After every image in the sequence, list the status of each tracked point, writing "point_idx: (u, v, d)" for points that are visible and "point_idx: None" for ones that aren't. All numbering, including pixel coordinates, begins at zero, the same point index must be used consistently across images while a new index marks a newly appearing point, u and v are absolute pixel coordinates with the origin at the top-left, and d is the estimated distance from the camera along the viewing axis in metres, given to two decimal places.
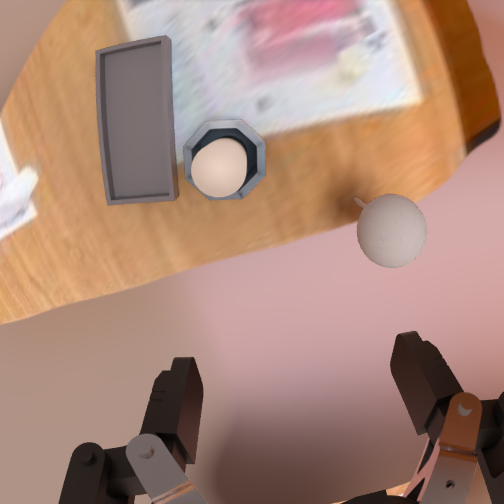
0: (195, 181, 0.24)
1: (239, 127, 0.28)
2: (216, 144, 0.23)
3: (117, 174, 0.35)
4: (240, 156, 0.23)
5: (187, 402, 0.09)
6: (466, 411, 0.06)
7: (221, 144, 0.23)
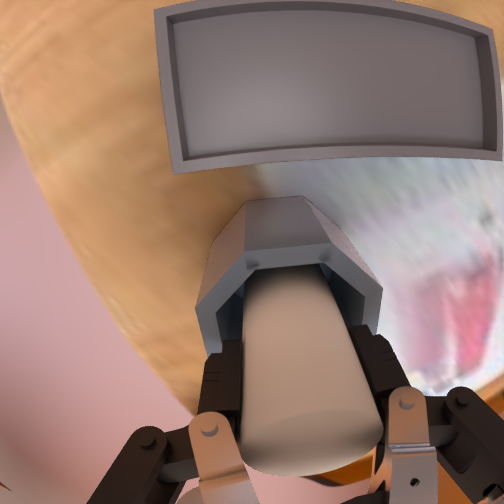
0: (285, 421, 0.07)
1: None
2: (379, 435, 0.08)
3: (229, 26, 0.13)
4: (340, 466, 0.08)
5: (241, 381, 0.10)
6: (406, 405, 0.07)
7: (376, 441, 0.08)
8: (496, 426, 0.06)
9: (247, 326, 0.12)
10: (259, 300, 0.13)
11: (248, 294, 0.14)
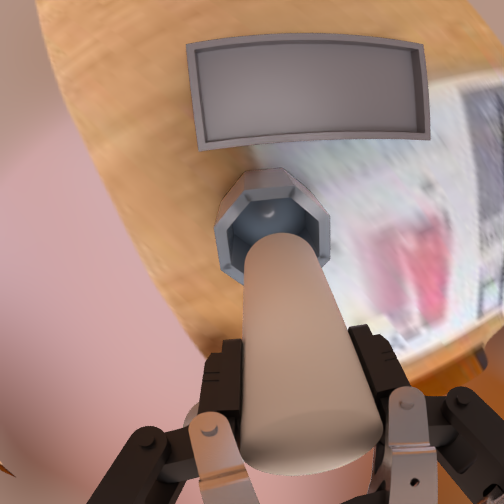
0: (285, 420, 0.07)
1: (319, 259, 0.22)
2: (379, 435, 0.08)
3: (234, 56, 0.21)
4: (340, 465, 0.08)
5: (241, 381, 0.10)
6: (406, 405, 0.07)
7: (376, 441, 0.08)
8: (496, 426, 0.06)
9: (247, 326, 0.12)
10: (259, 299, 0.13)
11: (248, 294, 0.14)
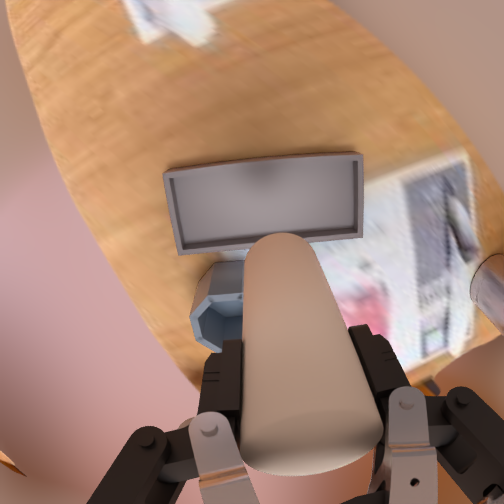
0: (285, 420, 0.07)
1: None
2: (379, 435, 0.08)
3: (201, 178, 0.31)
4: (340, 465, 0.08)
5: (241, 381, 0.10)
6: (406, 405, 0.07)
7: (376, 441, 0.08)
8: (495, 426, 0.06)
9: (247, 326, 0.12)
10: (259, 299, 0.13)
11: (248, 294, 0.14)
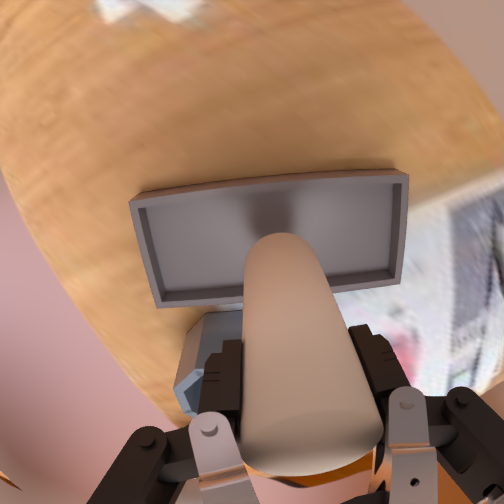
0: (285, 420, 0.07)
1: None
2: (379, 435, 0.08)
3: (183, 206, 0.22)
4: (340, 465, 0.08)
5: (241, 381, 0.10)
6: (406, 405, 0.07)
7: (376, 441, 0.08)
8: (495, 426, 0.06)
9: (247, 326, 0.12)
10: (259, 299, 0.12)
11: (248, 294, 0.14)
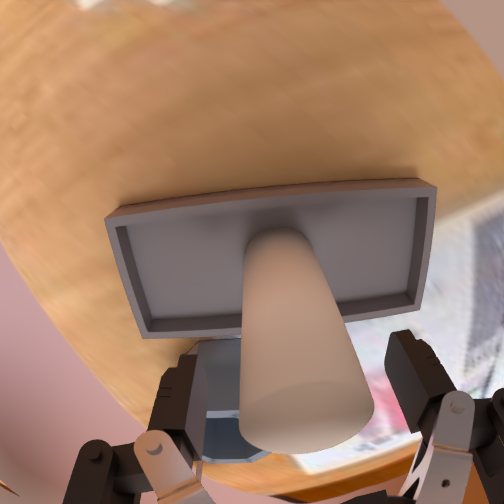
0: (281, 391, 0.08)
1: None
2: (370, 412, 0.09)
3: (169, 224, 0.18)
4: (335, 444, 0.09)
5: (194, 398, 0.09)
6: (458, 409, 0.07)
7: (368, 418, 0.09)
8: None
9: (246, 311, 0.13)
10: (258, 286, 0.13)
11: (247, 282, 0.15)
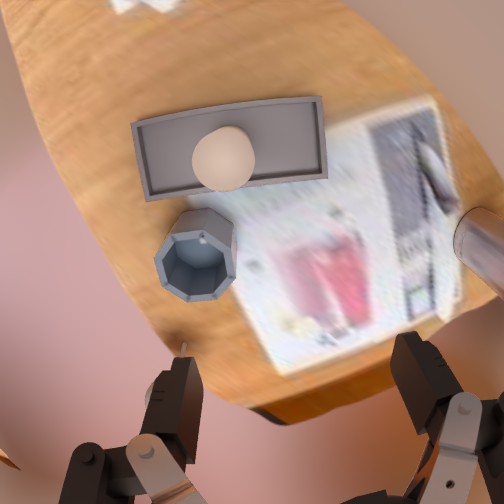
0: (208, 136, 0.20)
1: (228, 278, 0.32)
2: (253, 156, 0.21)
3: (167, 127, 0.30)
4: (241, 183, 0.22)
5: (187, 402, 0.09)
6: (466, 411, 0.06)
7: (253, 162, 0.21)
8: None
9: None
10: None
11: None
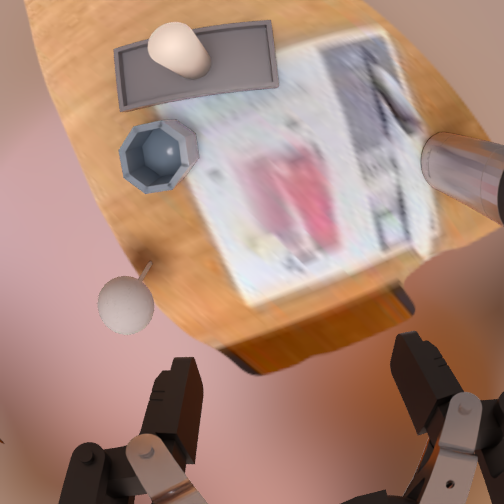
0: (160, 27, 0.21)
1: (182, 166, 0.33)
2: (194, 37, 0.22)
3: (143, 52, 0.32)
4: (184, 57, 0.22)
5: (187, 402, 0.09)
6: (466, 411, 0.06)
7: (194, 41, 0.22)
8: None
9: None
10: None
11: None
